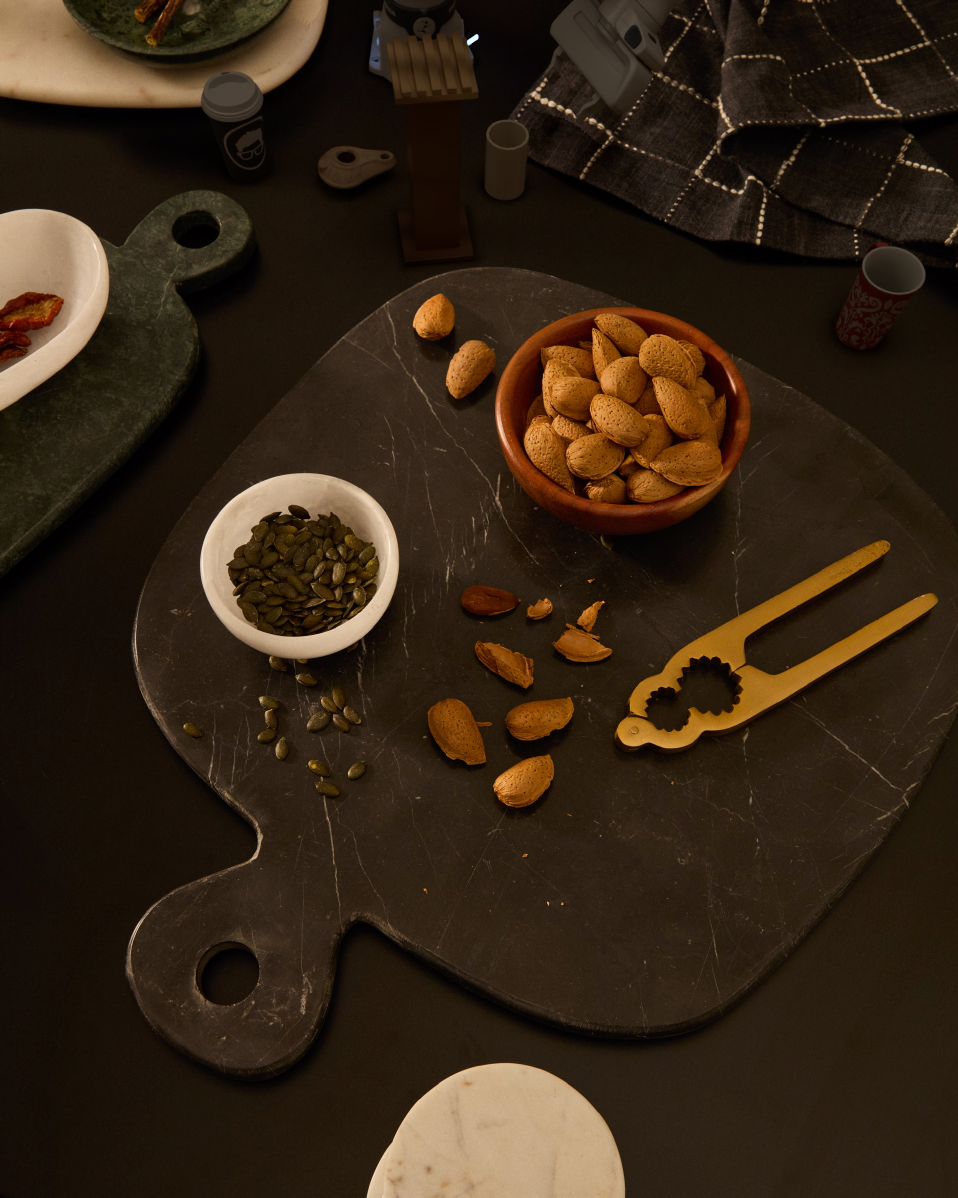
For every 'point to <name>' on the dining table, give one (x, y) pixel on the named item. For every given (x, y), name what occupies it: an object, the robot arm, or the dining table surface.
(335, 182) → the pottery oil lamp
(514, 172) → the enamel cup
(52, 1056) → the dining table surface
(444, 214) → the stand
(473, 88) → the wooden slatted trivet
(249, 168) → the coffee cup
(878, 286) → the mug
